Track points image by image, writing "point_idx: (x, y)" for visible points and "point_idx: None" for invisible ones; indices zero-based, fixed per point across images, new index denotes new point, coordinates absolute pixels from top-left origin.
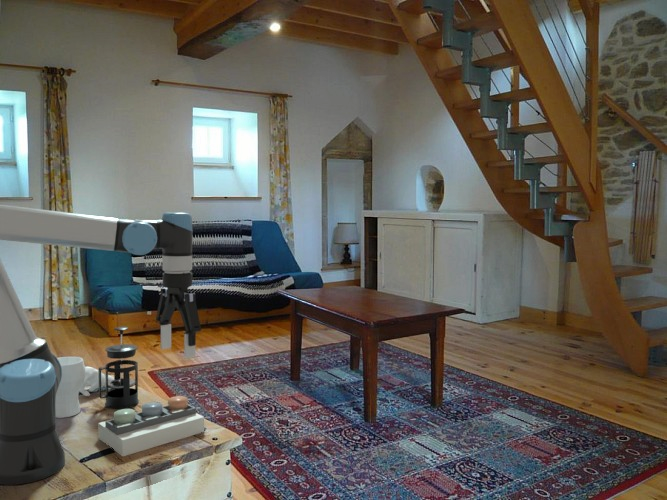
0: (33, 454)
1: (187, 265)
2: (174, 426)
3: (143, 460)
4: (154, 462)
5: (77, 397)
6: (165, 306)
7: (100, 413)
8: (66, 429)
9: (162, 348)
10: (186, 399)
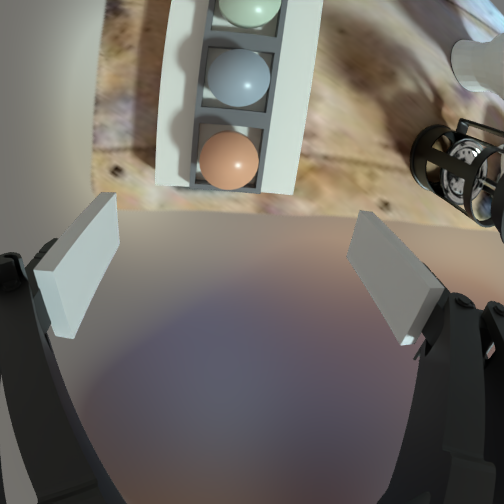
0: None
1: None
2: (159, 99)
3: (132, 9)
4: (108, 22)
5: (478, 77)
6: (479, 440)
7: (428, 95)
8: (403, 4)
9: (361, 214)
10: (207, 178)
